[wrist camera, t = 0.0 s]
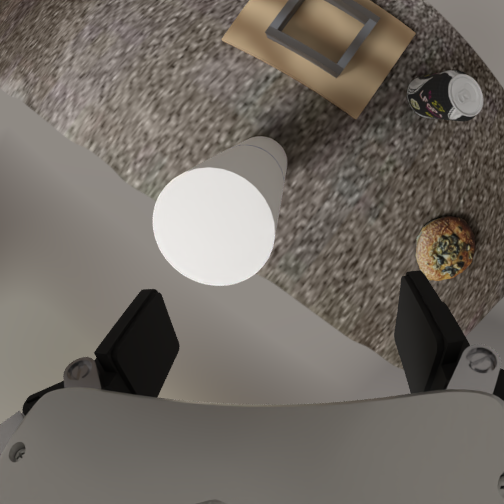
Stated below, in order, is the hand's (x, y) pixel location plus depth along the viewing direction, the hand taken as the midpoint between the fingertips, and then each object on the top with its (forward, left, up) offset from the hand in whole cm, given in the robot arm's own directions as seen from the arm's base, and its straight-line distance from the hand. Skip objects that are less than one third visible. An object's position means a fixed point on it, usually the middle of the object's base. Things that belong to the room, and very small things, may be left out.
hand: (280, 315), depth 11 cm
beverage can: (-19, +9, -31) cm, 38 cm away
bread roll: (-4, +26, -32) cm, 41 cm away
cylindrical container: (+2, -4, -31) cm, 32 cm away
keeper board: (-18, -7, -31) cm, 37 cm away
